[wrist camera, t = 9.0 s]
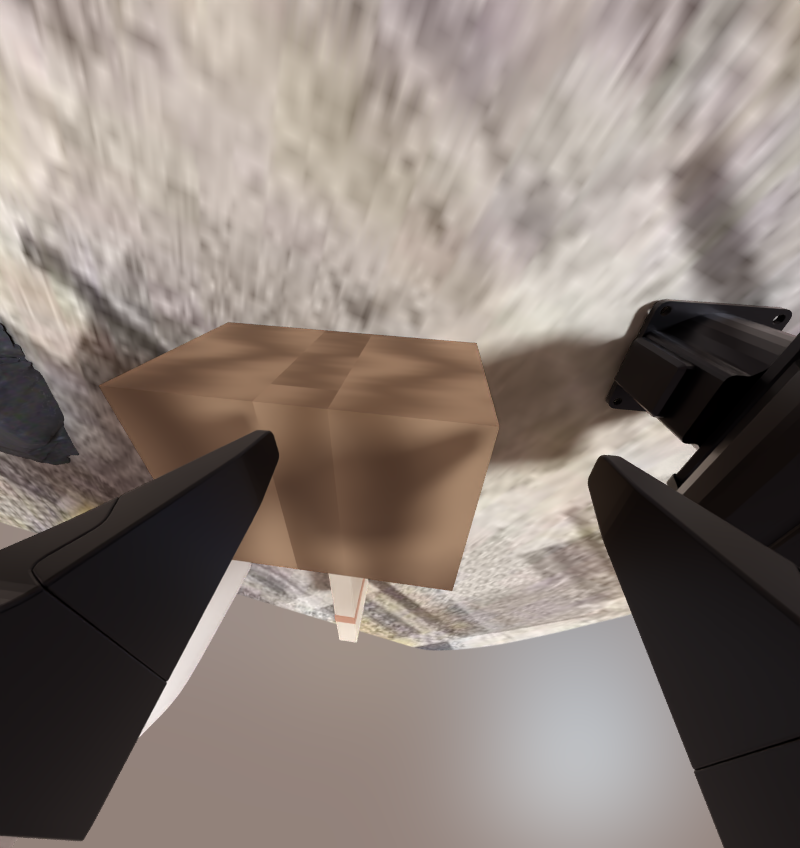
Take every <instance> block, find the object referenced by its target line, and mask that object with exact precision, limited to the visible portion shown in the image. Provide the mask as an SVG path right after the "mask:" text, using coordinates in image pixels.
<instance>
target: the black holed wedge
mask: <svg viewBox="0 0 800 848" xmlns="http://www.w3.org/2000/svg"><path fill="white" fill-rule="evenodd" d="M18 358H20V359H18ZM20 360H21V361H20ZM0 452H4V453H7V454H11V455H15V456H18V457H23V458H26V459H31V460H34V461H37V462H41V463H49V464H52V465H59V464H65V463H69V462H70V458H69V457H68V456H70V455H79V453H78V451H77V450H76V448H75V447H74V445H73V443H72V441H71V439H70V437H69V436H68V434H67V432H66V430H65V428H64V416H63V414H62V412H61V410H60V408H59V405H58V403H57V401H56V400H55V398H54V397H53V395H52V393H51V391H50V389H49V387H48V385H47V383H46V381H45V379H44V378H43V376H42V375H41V374H40V372H38V371H37V370H35V369H34V368H33V366H32V363H31V362H28V361H27V360H26V359H25V355H24V353H23V352H22V350H21V348H20V346H19V345H17V344H14V343H12V342H11V340H10V338H9V336H8V335H7V333H6V332H5V330H4V328H3V326H2V325H1V324H0Z"/></svg>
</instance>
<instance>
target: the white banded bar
mask: <svg viewBox="0 0 800 848" xmlns="http://www.w3.org/2000/svg"><path fill="white" fill-rule="evenodd" d="M328 574H329V573H328ZM329 580H330V586H331V592H332V598H333V604H334V610H335V620H336V622H337V627H338V634H339V639H340V640H344V641H351V642H357V638H358V633H359V629H360V624H361V619H362V614H363V609H364V604H365V599H366V594H367V589H368V579H364V578H357V577H350V576H343V575H336V574H329Z"/></svg>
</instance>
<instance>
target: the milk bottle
mask: <svg viewBox="0 0 800 848" xmlns="http://www.w3.org/2000/svg"><path fill="white" fill-rule="evenodd" d="M250 568H251V562H243V561H236V560H232V561H231V563H230V565H229V566H228V568H227V570H226V572H225V574H224V576H223V578H222V580H221V582H220V584H219V585H218V587H217V589H216V591H215V593H214V595H213V597H212V599H211V601H210V603H209V604H208V606H207V608H206V610H205V612H204V614H203V616H202V618H201V620H200V622H199V623H198V625H197V627H196V629H195V631H194V633H193V635H192V637H191V639H190V640H189V642H188V644H187V646H186V648H185V650H184V652H183V654H182V656H181V658H180V659H179V661H178V663H177V665H176V667H175V669H174V671H173V673H172V675H171V677H170V678H169V680H168V681H167V685H166V687H165V688H164V690H163V692H162V694H161V696H160V698H159V700H158V702H157V704H156V706H155V707H154V709H153V711H152V713H151V715H150V717H149V719H148V721H147V723H146V724H145V726H144V728H143V730H142V732H141V734H140V736H141V735H142V734H143V733H144V732H145V731H146V730H147V729H148V728H149V727H150V726H151V725H152V724H153V723H154V721H155V720H157V719H158V718H159V717H160V716H161V714H162V713H163V712H164V711H165V710H166V709H167V708H168V707H169V706H170V705H171V703H172V702H173V701H174V699H175V698H176V697H177V696H178V695H179V693H180V692H181V690H182V689H183V687H184V686H185V684H186V683H187V681H188V680H189V678H190V676H191V675H192V673H193V671H194V669H195V668H196V666H197V664H198V663H199V661H200V659H201V658H202V656H203V654H204V652H205V650H206V649H207V647H208V645H209V643H210V641H211V640H212V638H213V636H214V634H215V632H216V631H217V629H218V627H219V625H220V623H221V621H222V620H223V618H224V616H225V614H226V612H227V611H228V609H229V607H230V605H231V603H232V601H233V600H234V598H235V596H236V594H237V592H238V591H239V589H240V587H241V585H242V583H243V581H244V579H245V578H246V576H247V574H248V572H249V570H250ZM140 736H139V737H140Z"/></svg>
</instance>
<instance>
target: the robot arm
mask: <svg viewBox="0 0 800 848" xmlns="http://www.w3.org/2000/svg"><path fill="white" fill-rule="evenodd" d="M665 306H667V309H666V311H665V312H664V313H662V314H660V311H661V310H662V308H664V307H665ZM776 316H778V317H777V319H775V320H774V321H773V319H774V318H775V317H776ZM791 317H792V312H791V311H790V310H787V309H784V308H780V307H768V306H754V305H740V304H726V303H712V302H698V301H683V300H669V299H665V300H661V301H658V302H657V303H656V304H654V306H653V307H652V309H651V311H650V312H649V314H648V316H647V318H646V320H645V322H644V324H643V326H642V328H641V330H640V332H639V334H638V336H637V338H636V339H635V340H634V341H633V343H632V345H631V347H630V349H629V351H628V353H627V355H626V357H625V359H624V361H623V363H622V365H621V367H620V369H619V371H618V373H617V375H616V377H615V382H614V384H613V386H612V388H611V390H610V392H609V394H608V396H607V398H606V402H607V404H608V405H609V406H610V407H611V408H615V409H626V410H636V411H647V412H648V413H649V414H650V415H651V416H653V417H656V418H657V419H658V420H659V421H660V422H662V423H663V424H664V425H665V426H666V427H667V428H668V429H669V430H670V431H671V432H672V433H673V434H674V435H675V436H677V437H678V438H679V439H680V440H681V441H682V442H683V443H686V444H691V445H692V446H693V447H694V448H696V449H697V451H696V452H695V454H694V455H693V456H692V457H691V458H690V459H689V460H688V462H687V463H686V464H685V465H684V466H683V467H682V468H681V470H680V471H679V472H678V473H677V474H673V475H672V476H671V477H670V479H669V480H668V481H667V485H668V486H667V485H666V484H664V483H662V482H661V481H659V480H657V479H656V478H654V477H653V476H651V475H649V474H648V473H646V472H644V471H643V470H641V469H639V468H638V467H636V466H634V465H633V464H631V463H630V462H628V461H626V460H625V459H623V458H621V457H619V456H611V455H602V456H600V457H599V458H598V459H597V461H596V463H595V465H594V467H593V469H592V472H591V474H590V476H589V478H588V488H589V491H590V495H591V499H592V503H593V506H594V510H595V514H596V518H597V521H598V525H599V529H600V532H601V536H602V539H603V542H604V544H605V547H606V550H607V552H608V555H609V557H610V560H611V562H612V565H613V567H614V570H615V572H616V575H617V577H618V580H619V583H620V585H621V588H622V590H623V593H624V595H625V598H626V600H627V603H628V605H629V608H630V610H631V613H632V615H633V618H634V620H635V623H636V626H637V628H638V631H639V633H640V636H641V638H642V641H643V643H644V646H645V648H646V650H647V653H648V655H649V658H650V661H651V664H652V666H653V669H654V671H655V674H656V676H657V679H658V681H659V684H660V686H661V689H662V691H663V694H664V697H665V699H666V702H667V704H668V707H669V709H670V712H671V714H672V717H673V719H674V722H675V724H676V727H677V729H678V732H679V734H680V737H681V740H682V742H683V745H684V747H685V750H686V752H687V755H688V757H689V760H690V762H691V765H692V767H693V769H695V771H694V773H695V776H696V778H697V781H698V784H699V786H700V789H701V791H702V794H703V796H704V799H705V801H706V804H707V806H708V809H709V811H710V814H711V816H712V819H713V822H714V824H715V827H716V829H717V832H718V834H719V837H720V839H721V842H722V844H723V847H724V848H800V333H799V334H798V335H797V336H795V335H792V334H789V333H786V332H783V331H782V329H783V328H784V327H785V326H786V324H787V323H788V322H789V320H790V319H791ZM617 398H619V399H618V401H616V402H613V401H614V400H615V399H617ZM278 460H279V451H278V447H277V444H276V440H275V437H274V434H273V433H272V432H271V431H269V430H256V431H253V432H251V433H249V434H247V435H245V436H243V437H241V438H239V439H237V440H235V441H233V442H231V443H229V444H227V445H224V446H222V447H220V448H218V449H216V450H214V451H212V452H210V453H208V454H206V455H204V456H202V457H200V458H197V459H195V460H193V461H191V462H189V463H187V464H185V465H183V466H181V467H179V468H177V469H175V470H173V471H171V472H168V473H166V474H164V475H162V476H160V477H158V478H156V479H154V480H152V481H150V482H148V483H146V484H144V485H141V486H139V487H137V488H135V489H133V490H131V491H129V492H127V493H125V494H123V495H121V496H120V497H119V498H118V497H117V498H114V499H112V500H110V501H108V502H106V503H104V504H102V505H100V506H98V507H96V508H94V509H91V510H89V511H87V512H85V513H83V514H81V515H79V516H76V517H74V518H72V519H70V520H68V521H66V522H63V523H61V524H59V525H57V526H54V527H52V528H50V529H47V530H45V531H43V532H41V533H38V534H36V535H34V536H32V537H29V538H27V539H25V540H22V541H20V542H18V543H15V544H13V545H11V546H8V547H6V548H4V549H1V550H0V848H11V847H12V845H13V844H14V843H15V841H16V840H17V838H18V837H23V838H38V839H54V840H68V841H83V840H84V838H85V836H86V835H87V833H88V831H89V830H90V828H91V826H92V825H93V823H94V821H95V819H96V817H97V816H98V814H99V812H100V810H101V808H102V806H103V804H104V802H105V800H106V798H107V797H108V794H109V792H110V791H111V789H112V787H113V785H114V783H115V781H116V779H117V777H118V776H119V774H120V772H121V770H122V768H123V766H124V764H125V762H126V761H127V759H128V757H129V755H130V753H131V751H132V749H133V747H134V745H135V743H136V741H137V739H138V738H139V736H140V734H141V732H142V730H143V728H144V726H145V724H146V723H147V721H148V719H149V717H150V715H151V713H152V711H153V709H154V707H155V706H156V704H157V702H158V700H159V698H160V696H161V694H162V692H163V690H164V688H165V687H166V685H167V681H168V680H169V678H170V677H171V675H172V673H173V671H174V669H175V667H176V665H177V663H178V661H179V659H180V658H181V656H182V654H183V652H184V650H185V648H186V646H187V644H188V642H189V640H190V639H191V637H192V635H193V633H194V631H195V629H196V627H197V625H198V623H199V622H200V620H201V618H202V616H203V614H204V612H205V610H206V608H207V606H208V604H209V603H210V601H211V599H212V597H213V595H214V593H215V591H216V589H217V587H218V585H219V584H220V582H221V580H222V578H223V576H224V574H225V572H226V570H227V568H228V566H229V565H230V563H231V561H232V559H233V557H234V555H235V553H236V551H237V549H238V547H239V546H240V544H241V542H242V540H243V538H244V536H245V534H246V532H247V530H248V528H249V527H250V525H251V523H252V521H253V519H254V517H255V515H256V513H257V511H258V509H259V507H260V505H261V503H262V501H263V498H264V496H265V493H266V491H267V488H268V486H269V483H270V481H271V478H272V476H273V473H274V471H275V468H276V466H277V463H278Z"/></svg>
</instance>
